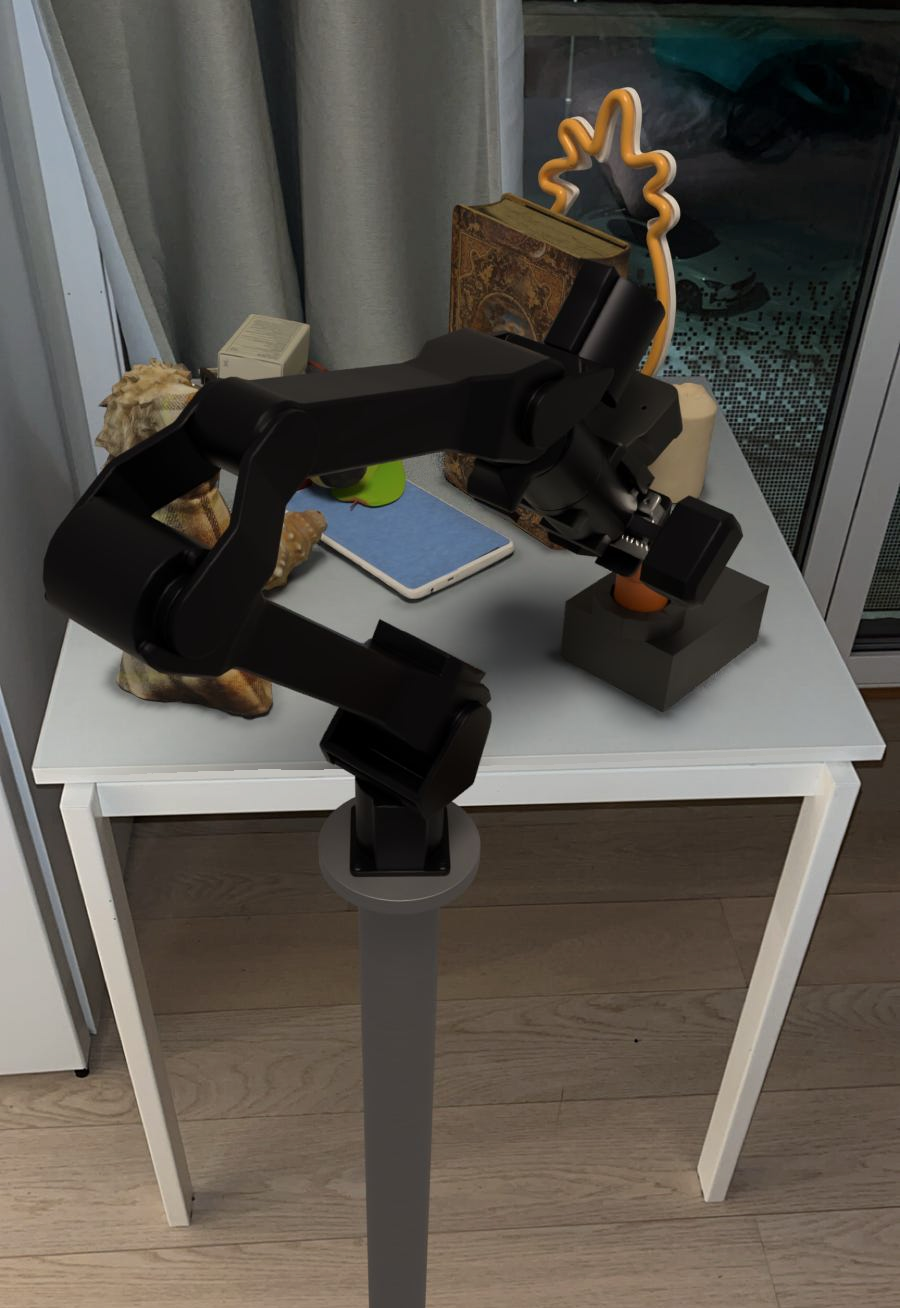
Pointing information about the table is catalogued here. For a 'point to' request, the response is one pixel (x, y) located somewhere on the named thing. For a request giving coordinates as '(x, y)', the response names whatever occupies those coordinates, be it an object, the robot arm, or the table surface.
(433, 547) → the tablet
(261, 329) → the cosmetic box
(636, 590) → the power button
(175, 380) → the brown cream tall piece
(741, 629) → the button base
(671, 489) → the candle
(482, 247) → the book
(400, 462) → the decorative leaf
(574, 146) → the lamp
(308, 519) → the seashell
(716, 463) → the table surface
